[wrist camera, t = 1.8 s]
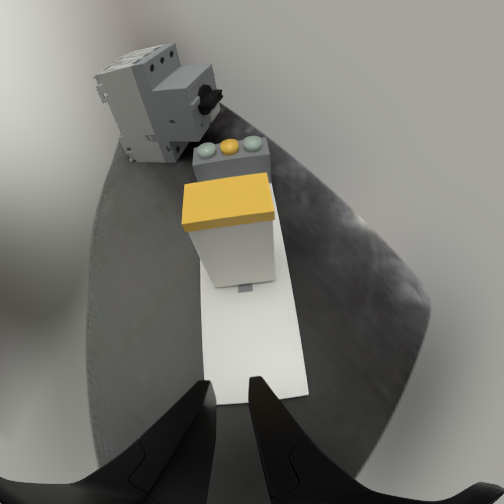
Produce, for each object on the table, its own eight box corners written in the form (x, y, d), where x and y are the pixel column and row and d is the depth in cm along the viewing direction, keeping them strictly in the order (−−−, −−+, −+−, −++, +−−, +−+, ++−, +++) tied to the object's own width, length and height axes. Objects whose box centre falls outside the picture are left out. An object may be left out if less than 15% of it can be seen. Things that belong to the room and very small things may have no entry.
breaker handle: (276, 280, 23) (274, 211, 15) (213, 288, 23) (181, 224, 15) (271, 247, 24) (266, 172, 17) (212, 255, 24) (184, 184, 17)
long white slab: (306, 395, 19) (318, 391, 14) (210, 405, 19) (186, 404, 14) (268, 174, 32) (265, 131, 27) (204, 183, 32) (192, 142, 27)
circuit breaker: (218, 165, 34) (193, 55, 21) (129, 161, 37) (91, 76, 24) (235, 132, 37) (220, 36, 25) (153, 132, 40) (125, 53, 27)
